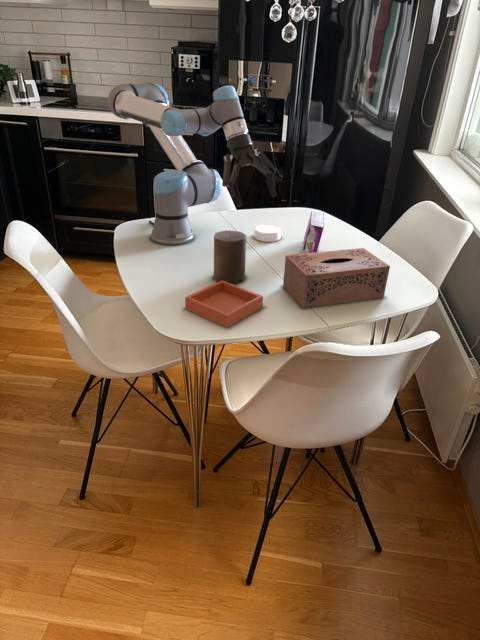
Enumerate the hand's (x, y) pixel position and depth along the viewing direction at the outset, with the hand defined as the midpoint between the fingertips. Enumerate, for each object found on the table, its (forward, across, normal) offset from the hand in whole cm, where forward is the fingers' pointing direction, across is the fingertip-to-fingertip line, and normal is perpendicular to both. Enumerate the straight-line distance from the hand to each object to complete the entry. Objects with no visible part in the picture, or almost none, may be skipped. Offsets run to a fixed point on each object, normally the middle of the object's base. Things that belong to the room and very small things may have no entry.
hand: (257, 201), depth 159 cm
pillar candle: (+21, -20, -4) cm, 29 cm away
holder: (+27, -32, -19) cm, 46 cm away
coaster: (+12, +11, +18) cm, 25 cm away
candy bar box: (+18, +13, -5) cm, 23 cm away
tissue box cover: (+34, +1, -24) cm, 41 cm away
